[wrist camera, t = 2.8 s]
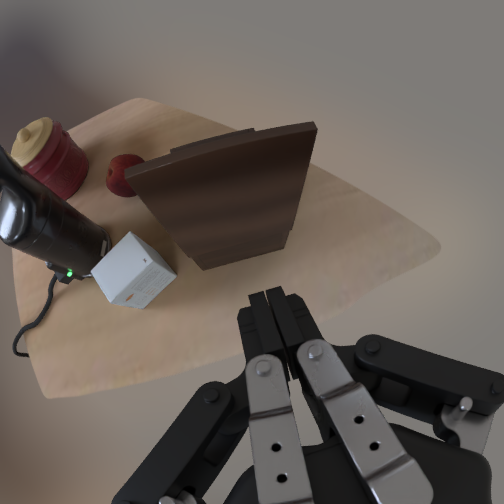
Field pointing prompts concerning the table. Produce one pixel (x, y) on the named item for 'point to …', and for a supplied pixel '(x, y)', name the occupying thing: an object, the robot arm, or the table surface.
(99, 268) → the small box
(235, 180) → the lid
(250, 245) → the chest
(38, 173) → the kitchen canister
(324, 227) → the table surface
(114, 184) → the apple
